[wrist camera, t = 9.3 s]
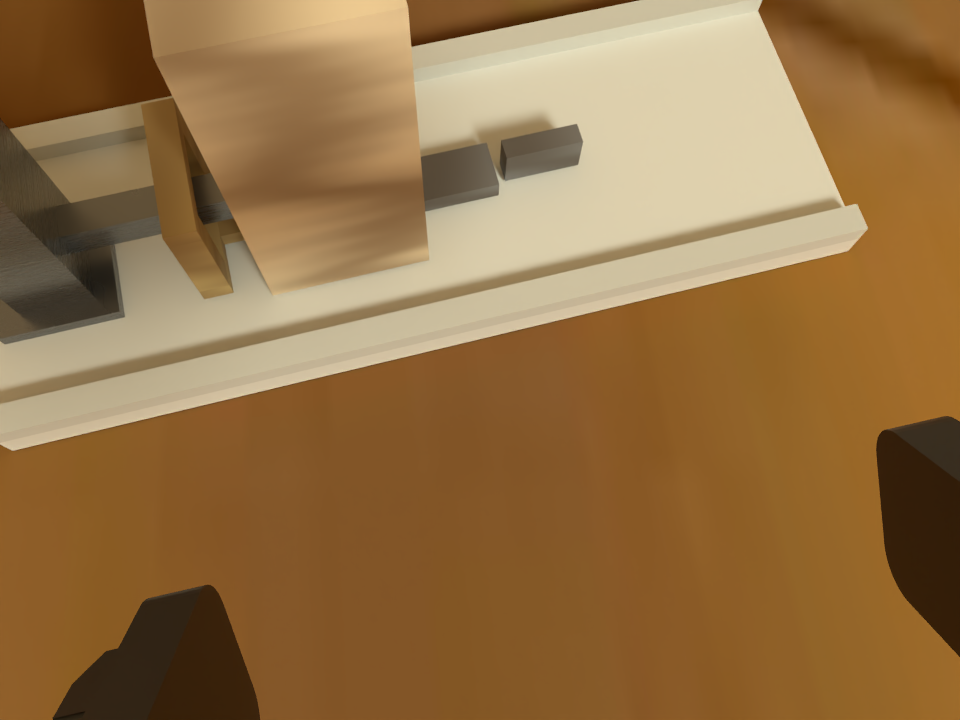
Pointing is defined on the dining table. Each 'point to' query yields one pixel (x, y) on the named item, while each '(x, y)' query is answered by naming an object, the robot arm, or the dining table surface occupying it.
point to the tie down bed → (466, 217)
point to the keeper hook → (70, 245)
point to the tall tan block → (306, 140)
